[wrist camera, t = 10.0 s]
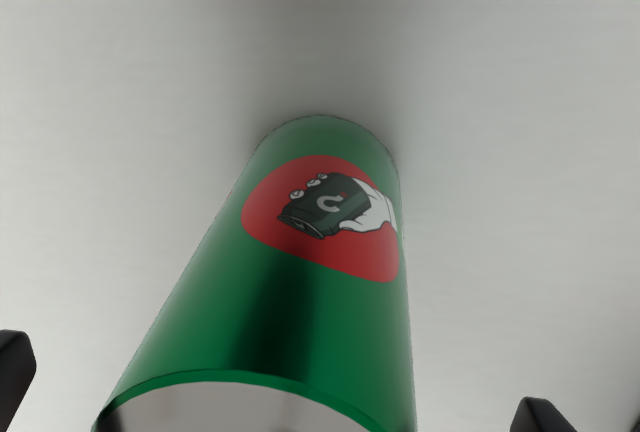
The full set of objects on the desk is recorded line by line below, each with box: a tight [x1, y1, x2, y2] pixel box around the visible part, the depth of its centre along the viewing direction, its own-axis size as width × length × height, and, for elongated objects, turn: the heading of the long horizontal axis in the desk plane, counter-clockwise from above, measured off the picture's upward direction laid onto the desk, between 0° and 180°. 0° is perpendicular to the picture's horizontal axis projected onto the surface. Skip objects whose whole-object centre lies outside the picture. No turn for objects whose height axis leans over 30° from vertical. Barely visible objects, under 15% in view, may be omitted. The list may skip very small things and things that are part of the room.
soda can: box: [91, 116, 418, 432], centre depth 12 cm, size 5×5×12 cm
